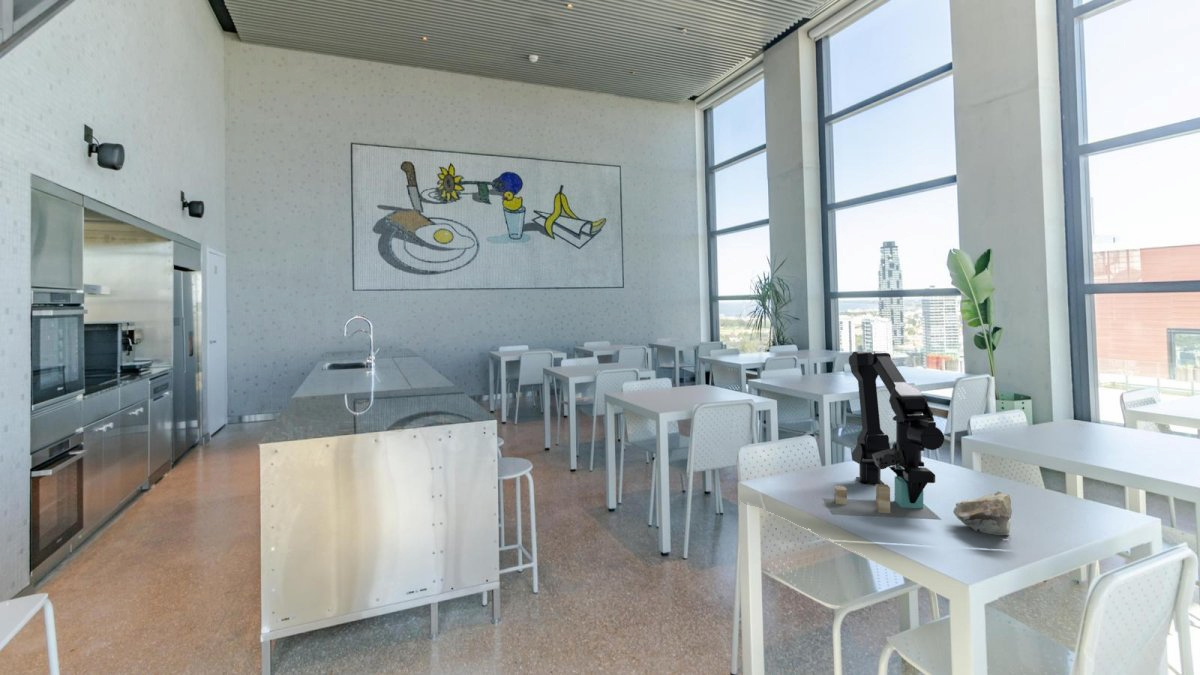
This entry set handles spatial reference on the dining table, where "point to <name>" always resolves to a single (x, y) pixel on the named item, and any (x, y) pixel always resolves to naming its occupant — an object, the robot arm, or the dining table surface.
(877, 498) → the post
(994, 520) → the stone
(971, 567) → the dining table surface
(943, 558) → the dining table surface
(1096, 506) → the dining table surface
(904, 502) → the teal rectangular block
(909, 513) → the mat
